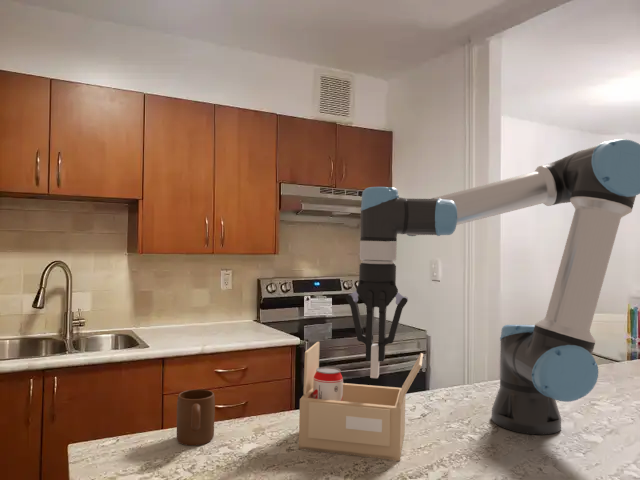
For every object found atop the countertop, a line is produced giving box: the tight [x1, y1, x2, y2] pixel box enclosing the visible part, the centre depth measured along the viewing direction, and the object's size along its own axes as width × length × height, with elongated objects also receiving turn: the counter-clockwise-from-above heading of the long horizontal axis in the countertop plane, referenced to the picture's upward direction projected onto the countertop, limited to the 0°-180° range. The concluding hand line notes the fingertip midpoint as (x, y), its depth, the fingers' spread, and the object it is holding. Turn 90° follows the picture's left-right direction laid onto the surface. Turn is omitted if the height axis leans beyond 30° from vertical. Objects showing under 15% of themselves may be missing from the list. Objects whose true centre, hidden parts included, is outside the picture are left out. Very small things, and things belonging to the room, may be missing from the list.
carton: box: [298, 382, 406, 462], centre depth 107 cm, size 20×15×10 cm
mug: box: [176, 388, 216, 447], centre depth 105 cm, size 12×8×9 cm, turn 13°
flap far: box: [303, 341, 321, 395], centre depth 109 cm, size 8×11×1 cm
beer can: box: [313, 366, 344, 401], centre depth 107 cm, size 6×6×16 cm
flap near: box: [398, 352, 424, 403], centre depth 105 cm, size 8×11×1 cm
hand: (374, 376), depth 106 cm, fingers closed
